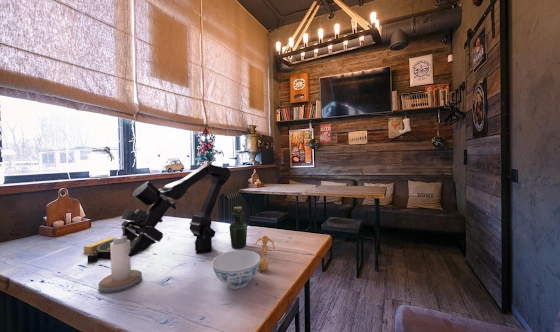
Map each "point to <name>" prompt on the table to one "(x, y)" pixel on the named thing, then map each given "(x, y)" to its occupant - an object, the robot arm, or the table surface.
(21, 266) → the table surface
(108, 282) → the display plinth
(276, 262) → the table surface
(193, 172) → the robot arm
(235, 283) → the chinaware
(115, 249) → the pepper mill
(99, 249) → the decorative sign
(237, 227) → the potion bottle
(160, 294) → the table surface
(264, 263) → the figurine
